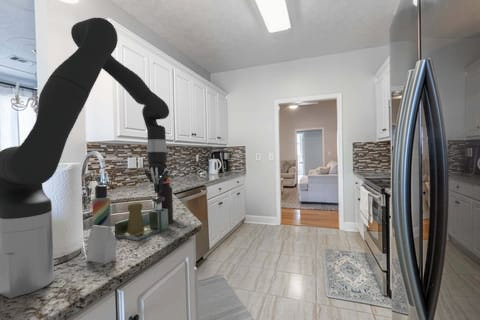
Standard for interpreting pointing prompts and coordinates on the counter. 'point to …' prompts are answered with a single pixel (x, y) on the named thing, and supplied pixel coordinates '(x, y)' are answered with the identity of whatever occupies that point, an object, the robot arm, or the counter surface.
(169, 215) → the vinegar
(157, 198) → the ram
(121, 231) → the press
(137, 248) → the counter surface
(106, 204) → the lotion bottle
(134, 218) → the cork
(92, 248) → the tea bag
